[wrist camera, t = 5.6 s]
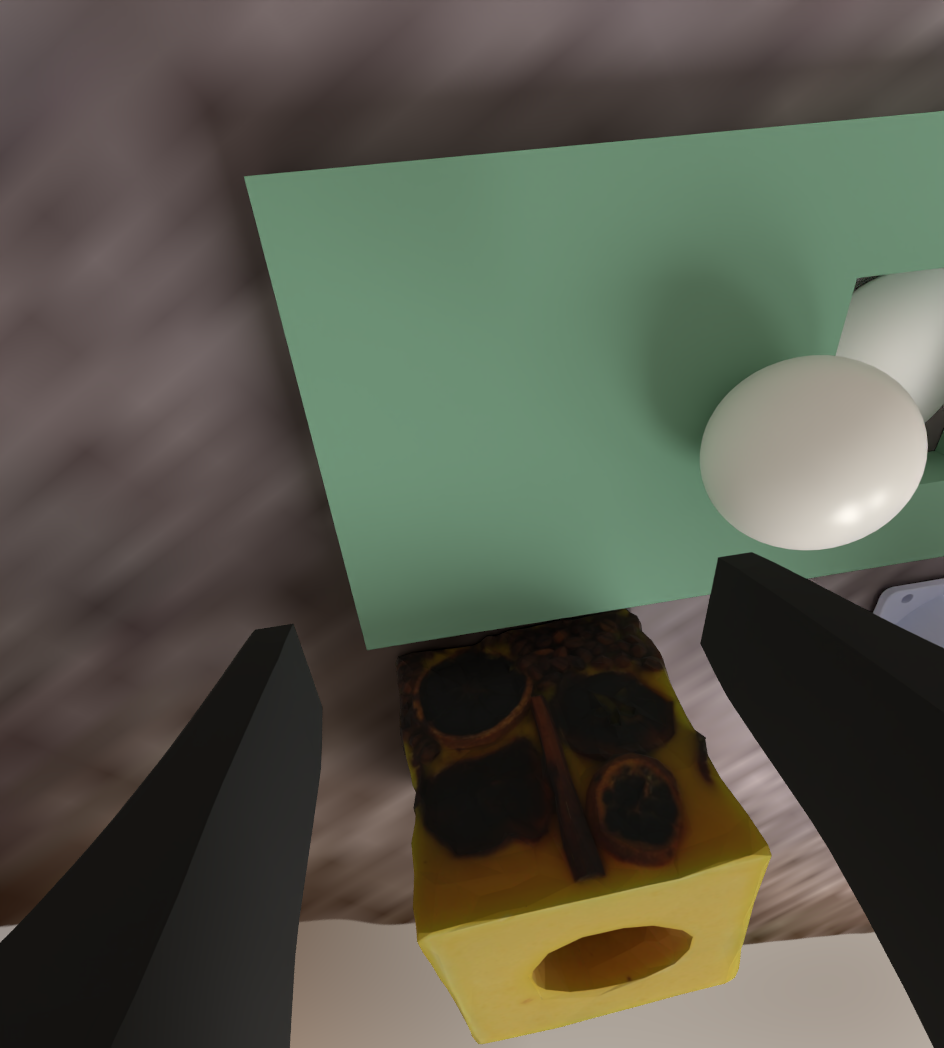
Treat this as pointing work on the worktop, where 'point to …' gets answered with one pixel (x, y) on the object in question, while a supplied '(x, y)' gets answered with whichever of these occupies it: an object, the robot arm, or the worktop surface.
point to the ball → (813, 452)
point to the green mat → (590, 353)
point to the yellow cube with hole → (568, 828)
